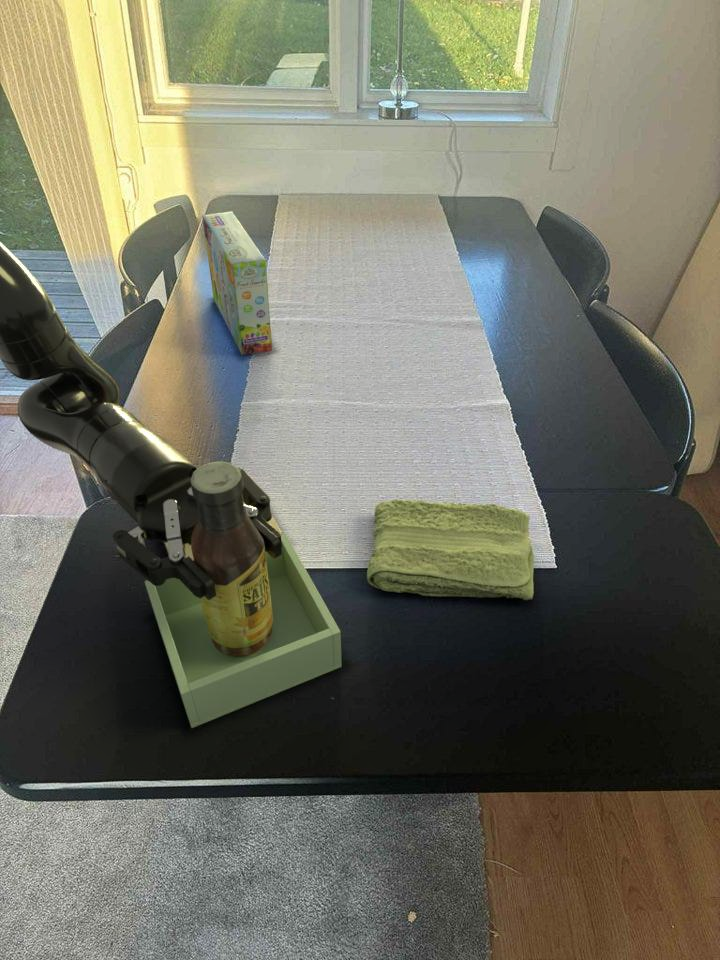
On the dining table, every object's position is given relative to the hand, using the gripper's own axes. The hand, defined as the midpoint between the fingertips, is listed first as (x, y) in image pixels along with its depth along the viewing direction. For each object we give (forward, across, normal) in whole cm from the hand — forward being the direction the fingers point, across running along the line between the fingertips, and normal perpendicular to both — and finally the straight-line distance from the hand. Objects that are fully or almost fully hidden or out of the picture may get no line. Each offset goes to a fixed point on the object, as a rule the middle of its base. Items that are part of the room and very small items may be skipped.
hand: (245, 569), depth 59 cm
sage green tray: (-2, 0, +12) cm, 13 cm away
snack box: (-55, +37, +13) cm, 67 cm away
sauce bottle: (-2, 0, +11) cm, 11 cm away
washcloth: (+4, +23, +12) cm, 27 cm away
